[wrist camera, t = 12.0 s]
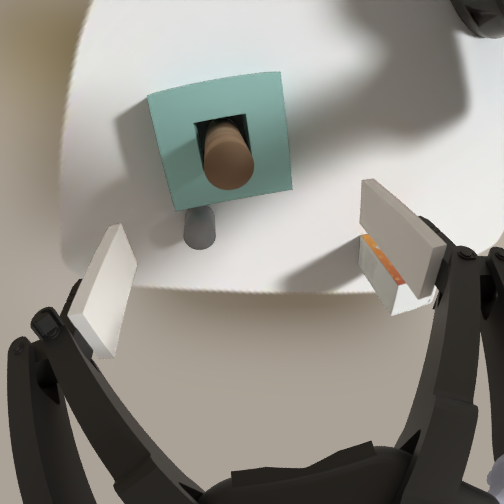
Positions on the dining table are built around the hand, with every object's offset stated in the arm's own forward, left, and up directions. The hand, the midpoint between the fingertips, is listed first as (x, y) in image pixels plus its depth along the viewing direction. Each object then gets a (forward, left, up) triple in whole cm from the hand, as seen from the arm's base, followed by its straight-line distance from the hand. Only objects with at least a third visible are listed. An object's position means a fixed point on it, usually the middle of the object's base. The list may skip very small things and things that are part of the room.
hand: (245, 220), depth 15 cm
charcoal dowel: (+11, -5, -23) cm, 26 cm away
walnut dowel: (0, 0, -23) cm, 23 cm away
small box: (+22, +23, -23) cm, 39 cm away
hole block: (0, 0, -23) cm, 23 cm away
